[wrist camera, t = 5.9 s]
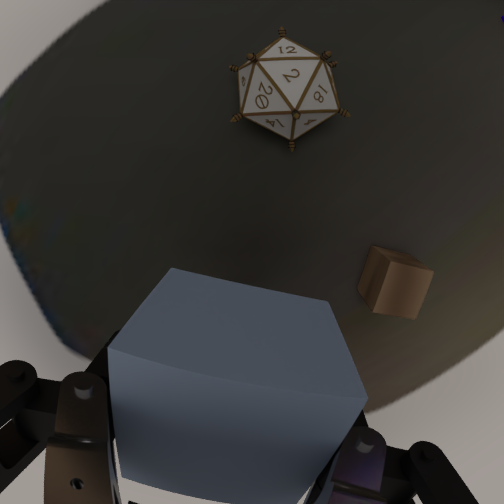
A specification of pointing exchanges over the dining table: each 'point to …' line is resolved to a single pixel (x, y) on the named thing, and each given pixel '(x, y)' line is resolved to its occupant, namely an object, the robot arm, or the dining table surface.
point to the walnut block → (394, 283)
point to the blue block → (230, 390)
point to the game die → (287, 89)
